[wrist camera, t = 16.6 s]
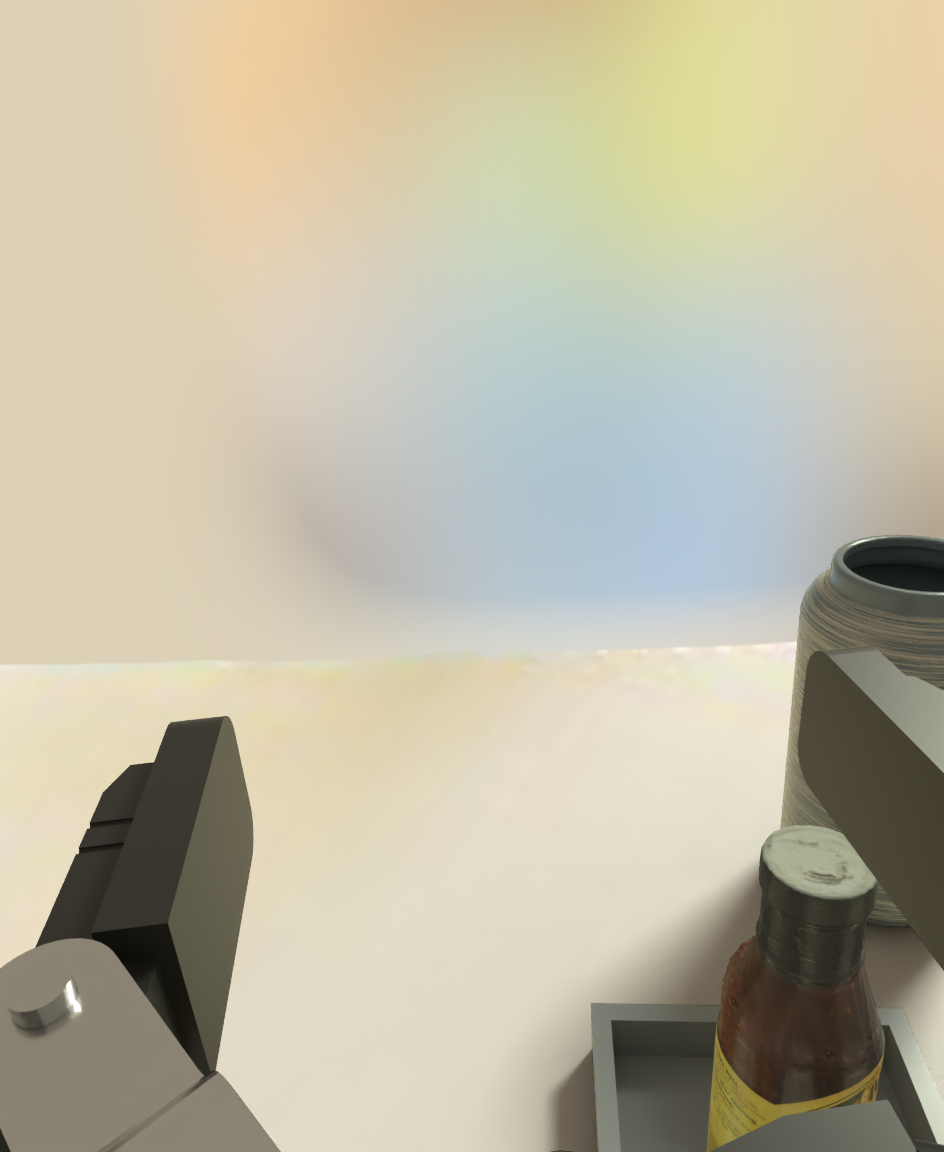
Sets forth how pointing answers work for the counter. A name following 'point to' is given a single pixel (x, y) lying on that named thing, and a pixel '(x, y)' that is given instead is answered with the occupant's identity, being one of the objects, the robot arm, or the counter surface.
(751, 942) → the sauce bottle
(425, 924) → the counter surface
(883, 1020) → the tray
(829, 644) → the vase
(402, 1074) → the counter surface
